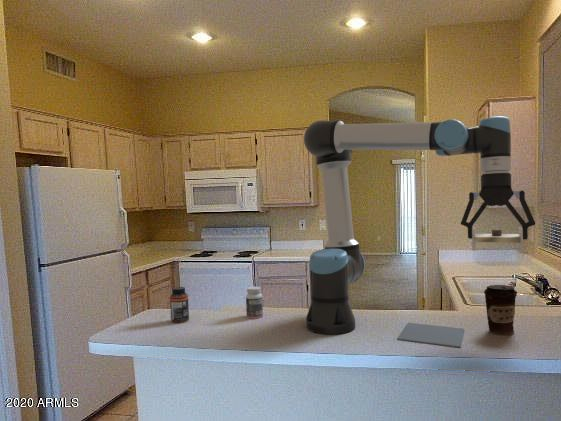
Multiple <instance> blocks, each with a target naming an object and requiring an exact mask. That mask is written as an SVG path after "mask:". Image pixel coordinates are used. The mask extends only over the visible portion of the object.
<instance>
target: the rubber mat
mask: <svg viewBox="0 0 561 421" xmlns="http://www.w3.org/2000/svg"><path fill="white" fill-rule="evenodd" d="M464 329H465V328H464V327H463V328H462V327H456V326H455V327H453V326H445V325H436V324H435V325H434V324H424V323H416V322H407V323H406V325H405V326H404V327H403V329H402V330H401V332H400V333H399V335H398V336H397V338H396V340H397V341H405V342H414V343H421V344H428V345H429V344H430V345H436V346H437V345H438V346H442V347H444V346H445V347H451V348H452V347H453V348H458V349H460V348H461V347H462V342H463V340H464V339H463V337H464V334H465V330H464Z"/></svg>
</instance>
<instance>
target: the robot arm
mask: <svg viewBox="0 0 561 421" xmlns="http://www.w3.org/2000/svg"><path fill="white" fill-rule="evenodd" d="M303 134H304V135H303V143H304V147H305V148H306V150H307V152H308V153H310V154H311V155H313V156H314V157H315V161H316V167H317V169H319V170H320V171H321V176H322V184H323V185H322V186H323V197H324V207H325V215H326V216H325V218H326V227H327V228H326V230H327V236H328V237H327V238H328V241H327V242H326V244H325V245H324V249H318V250H316V251H313V252H312V253H311V254H310V257H309V262H308V265H309V266H308V267H309V284H310V286H309V287H310V304H309V307H308V311H307V314H306V318H305V328H306V329H307V330H309V331H311V332H313V333H317V334H323V335H339V334H346V333H349V332H351V331H354V330H355V329H356V319H355V316H354V313H353V309H352V306H351V304H350V302H349V301H350V299H349V297H350V296H349V294H350V292H349V285H351V284H353V283H355V282H357V281H358V280H359V279H360V278H361V277H362V275H363V274H364V271H365V269H366V261H365V257H364V256H363V254H362V253H361V249H360V248H361V247H360V242H358V241H357V240H356V239H355V237H354V236H355V235H354V224H353V215H352V206H351V205H352V204H351V194H350V193H351V192H350V185H349V184H350V183H349V174H348V168H349V166H350V165H351V164H352V160H351V159H352V158H351V157H352V156H351V153H352V152H353V150H354V151H355V150H357V151H360V150H362V151H369V150H370V151H371V150H372V151H373V150H375V151H435V154H436V155H437V156H439V157H441V156H442V157H443V156H445V157H450V156H457V155H468V154H469V155H470V154H471V155H472V154H480V172H481V173H482V174H481V175H480V191H479V192H473V191H471V192H469V194H468V199H469V200H468V203H467V205H466V208H465V210H464V213H463V216H462V219H461V221H460V225H461V226H464V227H466V228H467V238H468V239H471V242H472V248H471V249H472V251H474V252H476V251H477V250H476V249H477V245H476V243H477V242H474V237H475V235H476V227H473V226H474V224H475V223H476V221H477V220H478V219H479V217H480V216H481V215H482V213H483V212H484V211H485V209H486V207H487V206H489V207H495V206H498V207H503V206H506V208H507V209H508V210H509V211H510V212H511V214H512V216H514V218H515V219H516V221H517V222H518V223H519V225H520V226H521V227H518V234H519V236H520V237H521V243H518V244H519V245H518V248H519V249H518V250H519V253H524V240H528V238H529V237H528V236H529V235H528V228H529V227H532V226H535V225H536V221H535V219H534V217H533V214H532V211H531V210H530V208H529V205H528V203H527V201H526V199H525V198H526V196H525V195H526V194H525V191H524V190H516V191H514V190H513V189H512V173H510V171H511V170H512V157H511V152H512V150H511V149H512V148H511V146H512V144H511V142H512V141H511V140H512V139H511V138H512V136H511V134H512V133H511V122H510V119H509V117H506V116H490V117H486V118H482V119H480V121H479V126H474V127H467V126H466V125H465V124H464V123H463V122H461V121H459V120H457V119H455V118H454V119H452V118H451V119H446V120H443V121H437V122H436V121H434V122H432V121H430V122H429V121H428V122H427V121H426V122H425V121H424V122H423V121H422V122H421V121H420V122H386V123H385V122H383V123H382V122H381V123H380V122H379V123H378V122H377V123H344V121H342V120H324V119H323V120H322V119H321V120H316V121H314V122H312V123H311V124H310V125H308V127H307V128H306V130H305V132H304V133H303ZM513 196H515V198H516V199H518V200H519V202H520V205H521V207H522V210H523V212H524V214H525V217H526V219H527V221H525V220H524V219H523V217H522V216H521V215H520V213H519V212H518V211H517V209H516V208H515V207H514V206H513V204H512V203H511V202H510V199H511V198H512V197H513ZM478 197H480V198H481V199H482V200H483V202H482V204H481V205H480V207H479V208H478V210H477V211H476V212H475V214H474V215H473V217H472V218H471V220H470V221H469V222H468V219H469V216H470V212H471V210H472V207H473V205H474V203H475V202H474V201H475V200H478Z"/></svg>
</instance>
